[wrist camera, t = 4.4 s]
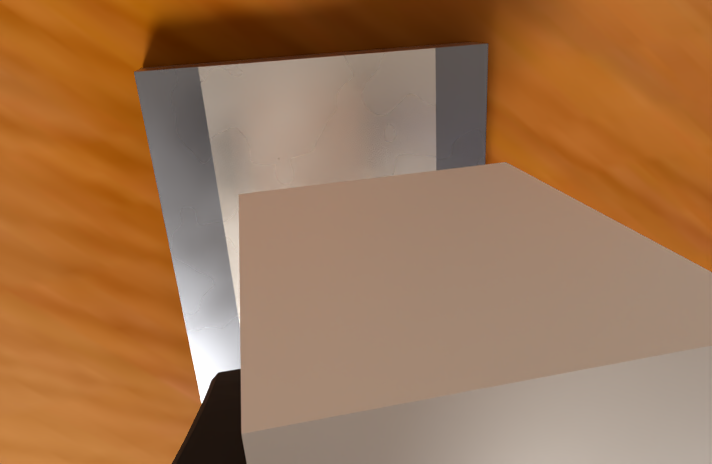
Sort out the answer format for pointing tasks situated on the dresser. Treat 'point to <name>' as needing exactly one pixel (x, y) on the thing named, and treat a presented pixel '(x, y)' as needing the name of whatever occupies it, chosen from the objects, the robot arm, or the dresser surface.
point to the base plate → (292, 150)
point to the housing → (466, 327)
